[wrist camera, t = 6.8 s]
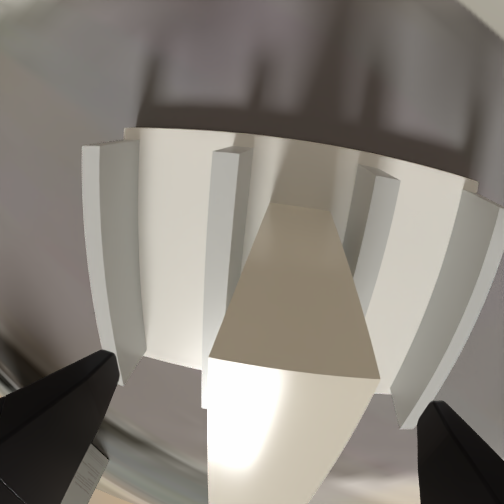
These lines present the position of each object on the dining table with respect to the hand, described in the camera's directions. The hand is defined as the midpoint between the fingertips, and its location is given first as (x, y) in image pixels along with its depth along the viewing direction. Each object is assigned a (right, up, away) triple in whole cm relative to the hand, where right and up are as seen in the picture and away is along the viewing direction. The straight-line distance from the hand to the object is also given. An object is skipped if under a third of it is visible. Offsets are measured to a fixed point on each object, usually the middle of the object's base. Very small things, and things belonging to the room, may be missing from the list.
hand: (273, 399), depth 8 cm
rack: (+1, +3, +7) cm, 8 cm away
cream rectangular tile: (+1, +2, +6) cm, 6 cm away
